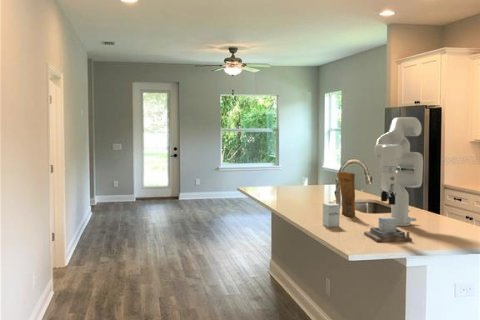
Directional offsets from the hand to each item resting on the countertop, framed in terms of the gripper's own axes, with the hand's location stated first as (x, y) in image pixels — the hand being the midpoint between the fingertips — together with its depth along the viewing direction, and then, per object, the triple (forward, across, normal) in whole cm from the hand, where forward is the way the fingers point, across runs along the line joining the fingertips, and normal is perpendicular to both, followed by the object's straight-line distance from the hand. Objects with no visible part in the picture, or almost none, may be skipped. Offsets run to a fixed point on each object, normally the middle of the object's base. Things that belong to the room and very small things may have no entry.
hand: (387, 202), depth 249 cm
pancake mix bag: (+20, +64, 0) cm, 67 cm away
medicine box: (+17, -1, 0) cm, 17 cm away
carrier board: (+18, -1, 0) cm, 18 cm away
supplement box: (+19, +32, +20) cm, 42 cm away
